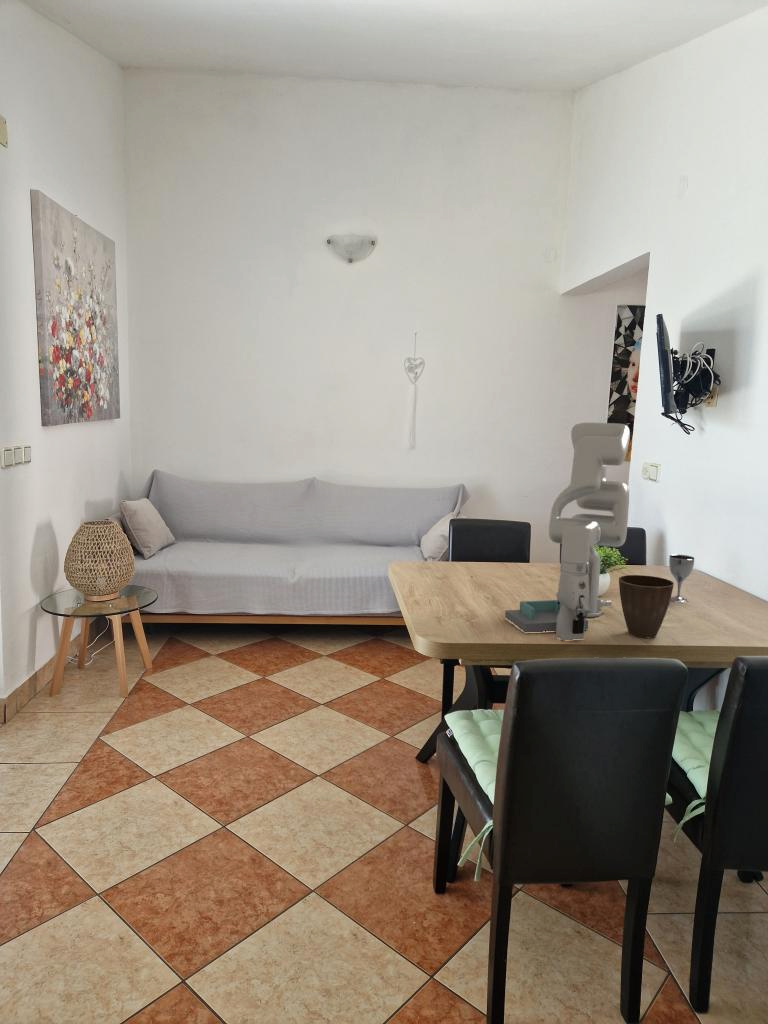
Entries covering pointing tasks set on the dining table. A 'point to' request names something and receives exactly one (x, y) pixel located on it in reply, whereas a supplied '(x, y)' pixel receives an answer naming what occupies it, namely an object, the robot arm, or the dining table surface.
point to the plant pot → (644, 603)
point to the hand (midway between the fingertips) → (570, 628)
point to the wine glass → (680, 571)
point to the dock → (536, 616)
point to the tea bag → (566, 624)
